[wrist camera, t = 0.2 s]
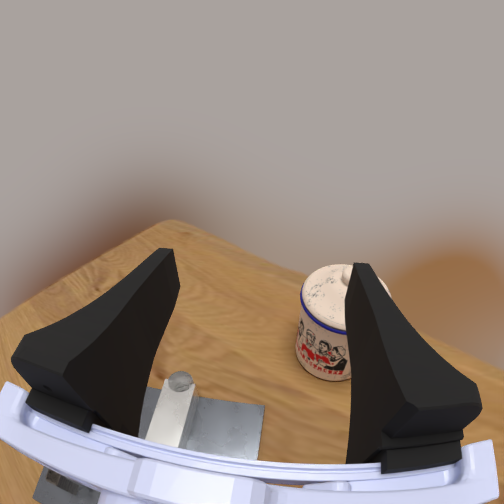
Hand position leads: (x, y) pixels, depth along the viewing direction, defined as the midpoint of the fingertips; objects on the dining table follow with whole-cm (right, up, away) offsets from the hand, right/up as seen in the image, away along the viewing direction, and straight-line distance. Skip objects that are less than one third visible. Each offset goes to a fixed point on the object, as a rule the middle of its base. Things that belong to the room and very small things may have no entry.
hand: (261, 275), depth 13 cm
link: (-8, -17, +12) cm, 22 cm away
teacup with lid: (+10, -11, +21) cm, 26 cm away
